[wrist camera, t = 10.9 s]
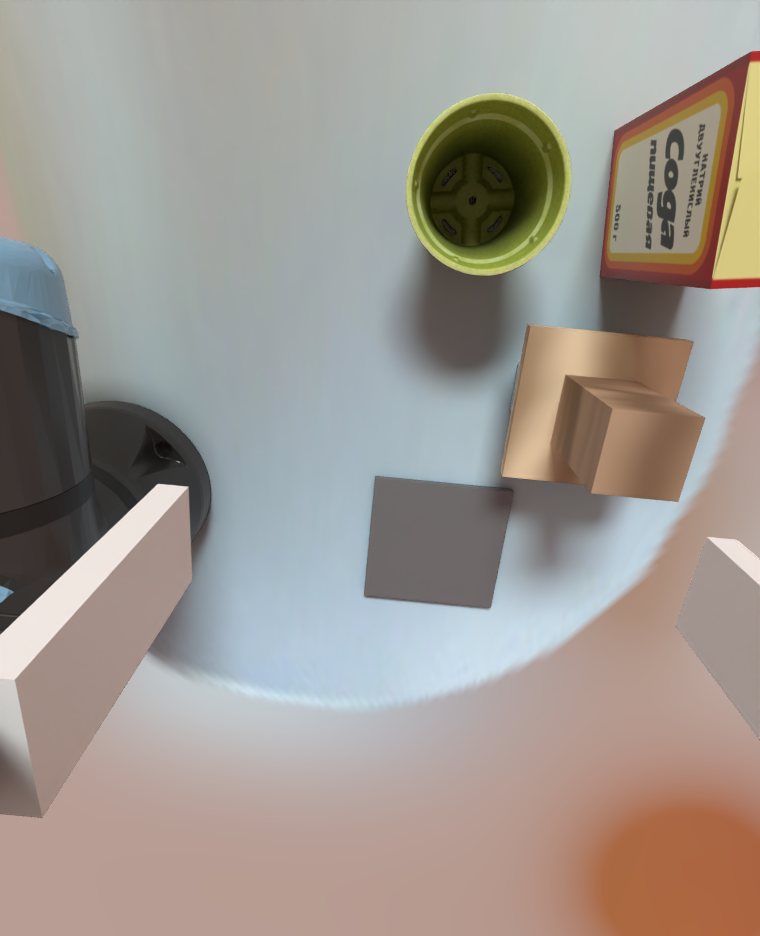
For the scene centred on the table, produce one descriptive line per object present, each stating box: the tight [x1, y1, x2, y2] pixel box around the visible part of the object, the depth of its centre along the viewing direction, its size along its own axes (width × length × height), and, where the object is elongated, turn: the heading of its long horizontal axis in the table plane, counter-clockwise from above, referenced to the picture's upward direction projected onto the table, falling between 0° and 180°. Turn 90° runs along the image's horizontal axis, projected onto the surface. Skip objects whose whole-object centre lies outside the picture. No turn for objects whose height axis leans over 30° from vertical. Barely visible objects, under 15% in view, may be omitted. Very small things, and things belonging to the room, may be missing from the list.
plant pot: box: [406, 93, 571, 276], centre depth 35 cm, size 9×9×9 cm
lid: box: [500, 324, 705, 502], centre depth 35 cm, size 11×11×10 cm
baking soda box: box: [600, 51, 760, 289], centre depth 31 cm, size 10×6×16 cm
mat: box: [364, 476, 514, 608], centre depth 49 cm, size 12×12×1 cm
